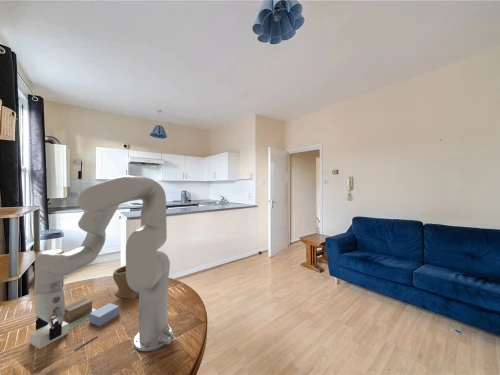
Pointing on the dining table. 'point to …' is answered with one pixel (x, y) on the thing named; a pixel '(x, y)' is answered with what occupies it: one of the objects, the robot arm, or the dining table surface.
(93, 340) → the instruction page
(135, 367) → the dining table surface
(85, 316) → the build board
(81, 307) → the brick
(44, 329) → the brick
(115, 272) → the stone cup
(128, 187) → the robot arm
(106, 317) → the brick
